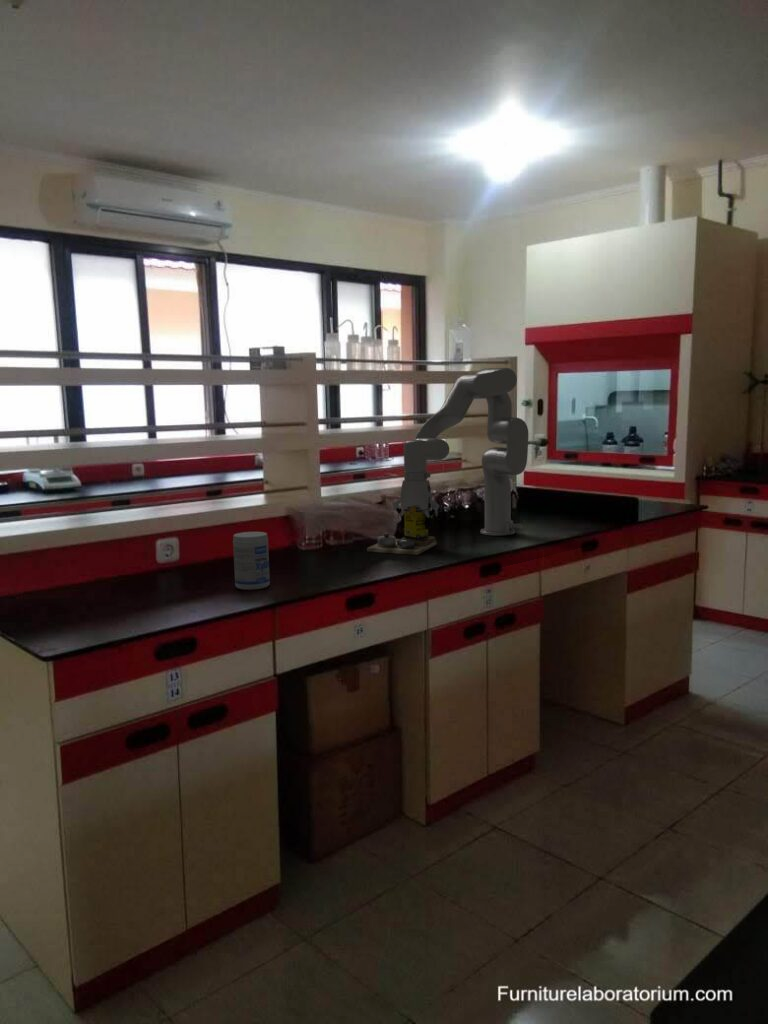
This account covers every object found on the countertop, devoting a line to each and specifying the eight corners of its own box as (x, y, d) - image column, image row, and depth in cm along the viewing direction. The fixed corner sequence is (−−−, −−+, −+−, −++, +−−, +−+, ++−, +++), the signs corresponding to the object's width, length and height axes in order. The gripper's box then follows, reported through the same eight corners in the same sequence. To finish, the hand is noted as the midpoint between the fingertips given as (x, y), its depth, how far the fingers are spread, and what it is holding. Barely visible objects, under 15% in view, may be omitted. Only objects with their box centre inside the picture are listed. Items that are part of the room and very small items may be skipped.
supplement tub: (263, 591, 210) (261, 537, 208) (230, 590, 212) (227, 537, 209) (274, 582, 220) (272, 531, 217) (242, 582, 221) (239, 530, 219)
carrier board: (436, 544, 269) (436, 529, 268) (417, 554, 253) (417, 538, 252) (388, 541, 276) (388, 526, 275) (367, 551, 260) (366, 535, 259)
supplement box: (415, 540, 262) (415, 507, 260) (404, 537, 267) (403, 506, 265) (428, 537, 266) (428, 505, 264) (417, 535, 270) (416, 504, 269)
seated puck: (416, 546, 260) (416, 539, 260) (411, 549, 256) (411, 542, 255) (402, 545, 262) (402, 538, 262) (397, 548, 258) (396, 541, 257)
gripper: (443, 476, 263) (444, 527, 266) (396, 474, 270) (397, 525, 273) (435, 478, 256) (436, 531, 259) (387, 477, 263) (388, 528, 266)
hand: (416, 527), depth 266 cm, fingers closed on supplement box, 7 cm apart
